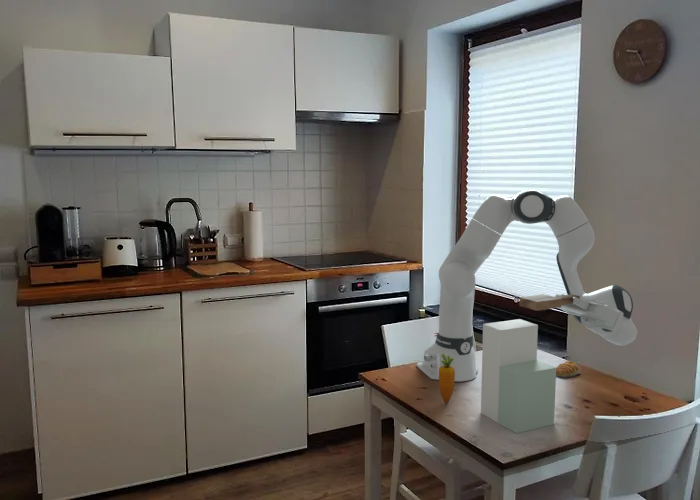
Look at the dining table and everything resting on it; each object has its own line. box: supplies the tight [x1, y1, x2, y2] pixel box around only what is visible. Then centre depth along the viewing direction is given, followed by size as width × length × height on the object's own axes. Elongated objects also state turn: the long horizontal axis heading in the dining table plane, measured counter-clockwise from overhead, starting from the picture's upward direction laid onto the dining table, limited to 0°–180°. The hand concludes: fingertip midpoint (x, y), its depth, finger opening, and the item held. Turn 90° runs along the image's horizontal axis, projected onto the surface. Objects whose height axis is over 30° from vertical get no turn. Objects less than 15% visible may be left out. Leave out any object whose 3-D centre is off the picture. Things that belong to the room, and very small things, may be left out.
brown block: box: [519, 293, 580, 311], centre depth 172 cm, size 7×18×2 cm, turn 115°
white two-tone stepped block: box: [480, 318, 557, 434], centre depth 165 cm, size 15×13×26 cm
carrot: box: [438, 354, 455, 405], centre depth 177 cm, size 5×5×15 cm
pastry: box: [556, 361, 581, 379], centre depth 203 cm, size 9×7×4 cm
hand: (567, 298), depth 175 cm, fingers closed on brown block, 3 cm apart
